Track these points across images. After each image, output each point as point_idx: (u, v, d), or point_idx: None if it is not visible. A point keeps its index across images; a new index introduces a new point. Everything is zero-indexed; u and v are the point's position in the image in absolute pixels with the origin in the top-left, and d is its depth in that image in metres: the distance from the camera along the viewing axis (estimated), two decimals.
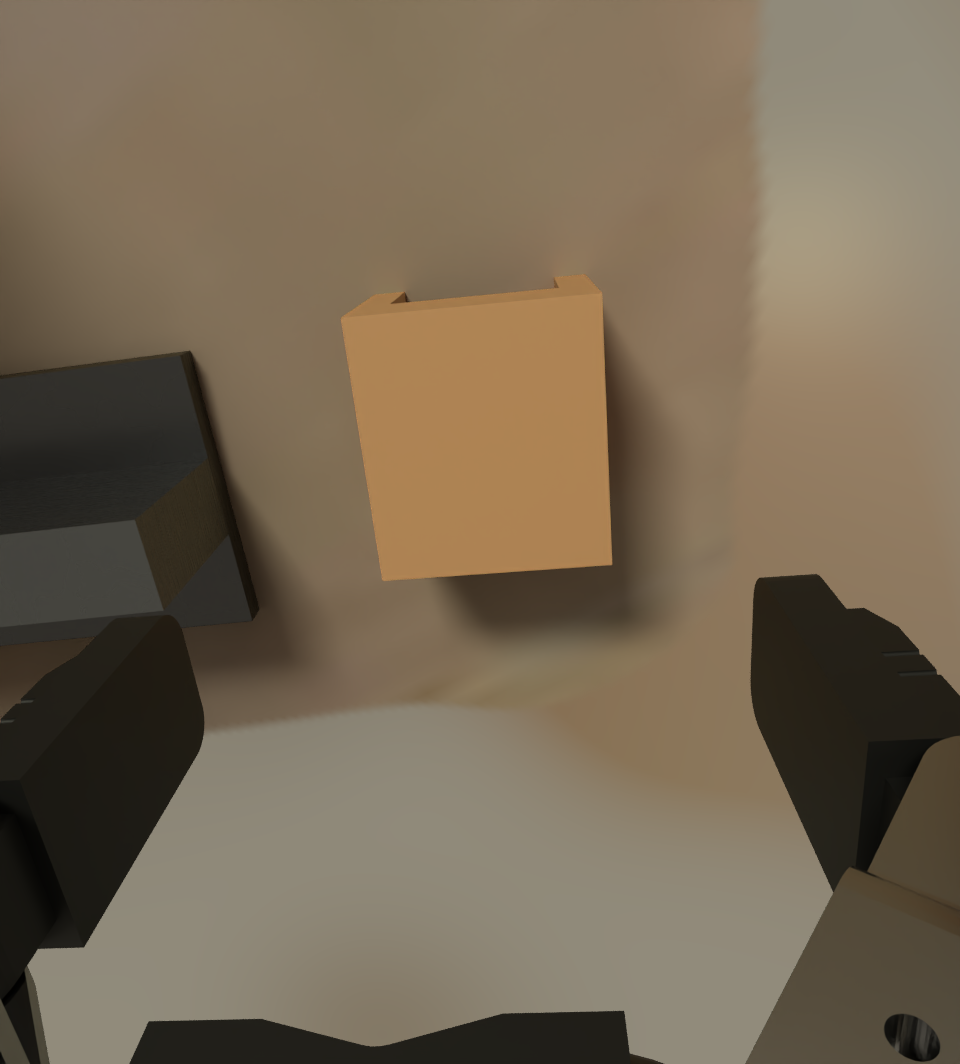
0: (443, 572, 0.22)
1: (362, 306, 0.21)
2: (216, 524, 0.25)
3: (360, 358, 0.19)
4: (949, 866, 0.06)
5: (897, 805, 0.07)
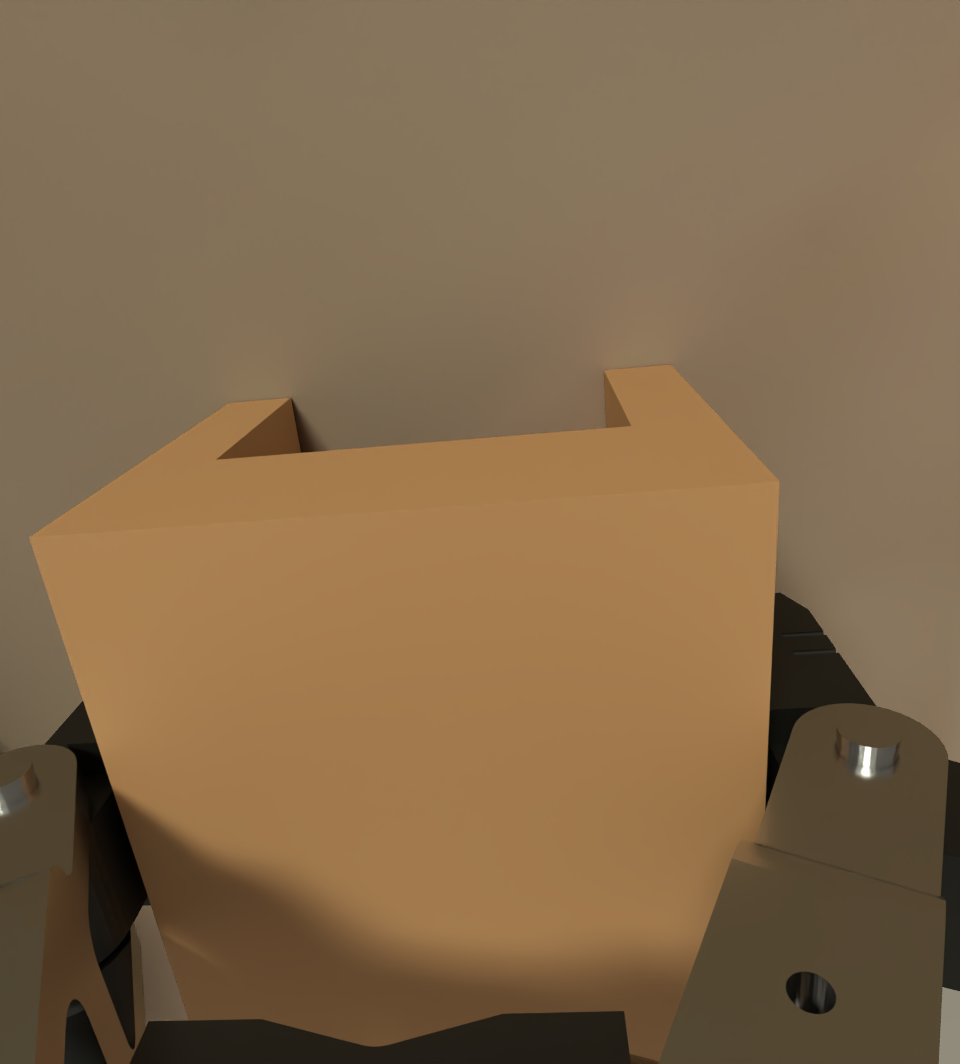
0: None
1: (151, 463, 0.09)
2: None
3: (97, 638, 0.07)
4: (797, 816, 0.06)
5: (776, 769, 0.07)
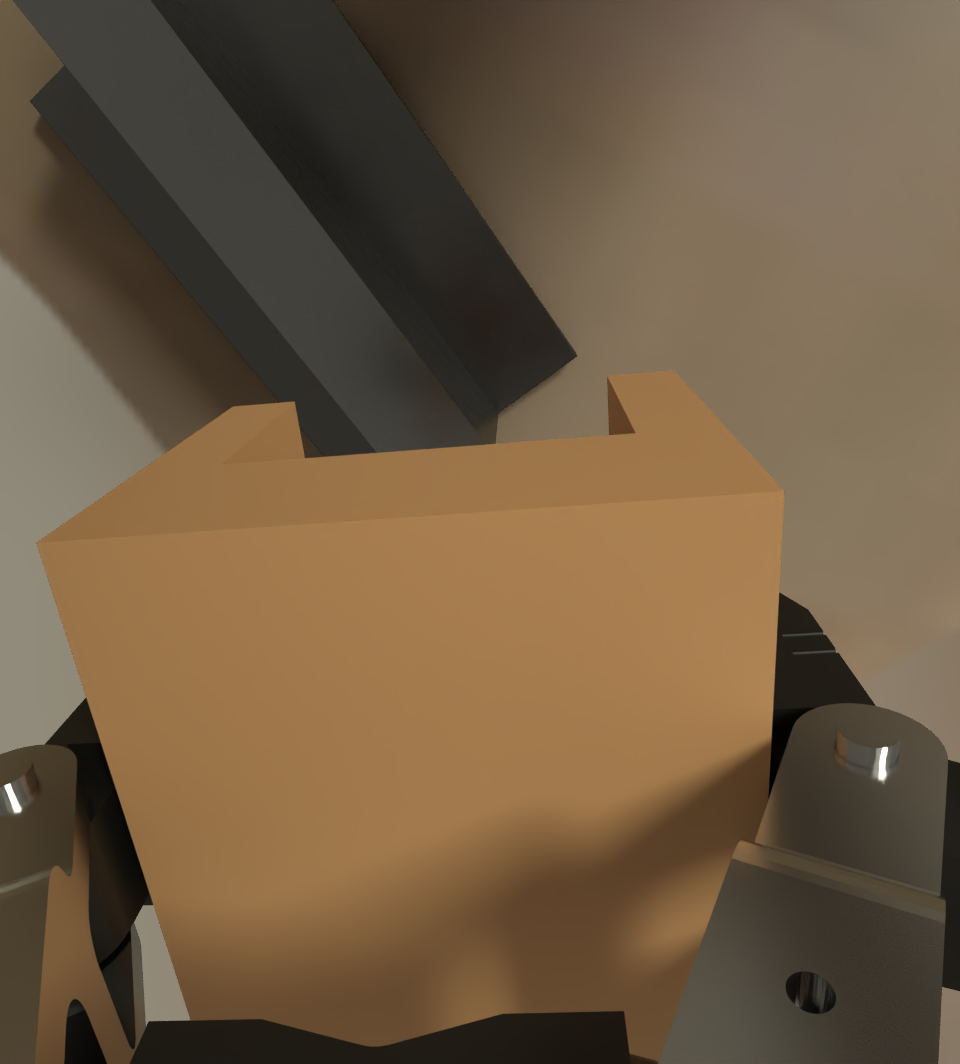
0: None
1: (156, 467, 0.09)
2: None
3: (104, 642, 0.07)
4: (797, 816, 0.06)
5: (776, 769, 0.07)
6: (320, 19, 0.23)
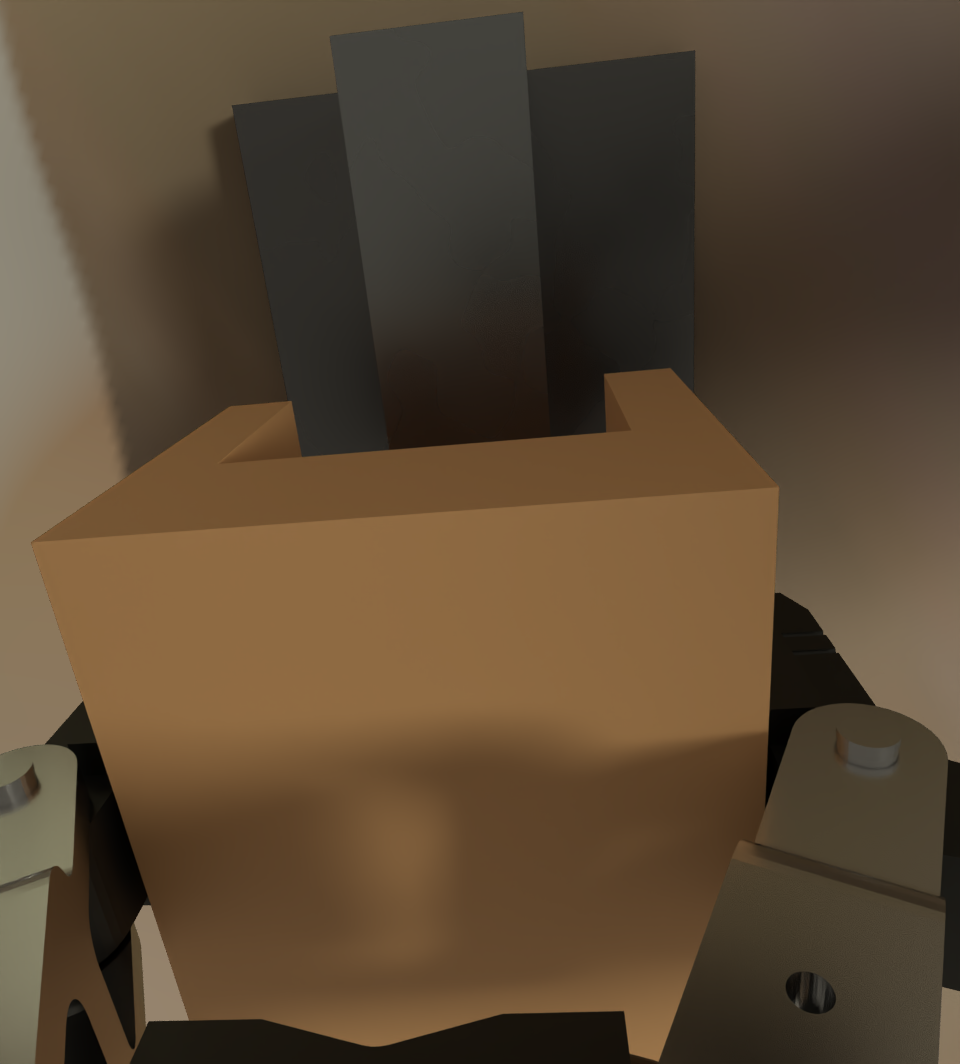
0: None
1: (152, 467, 0.09)
2: None
3: (99, 642, 0.07)
4: (797, 815, 0.06)
5: (776, 768, 0.07)
6: (666, 260, 0.16)
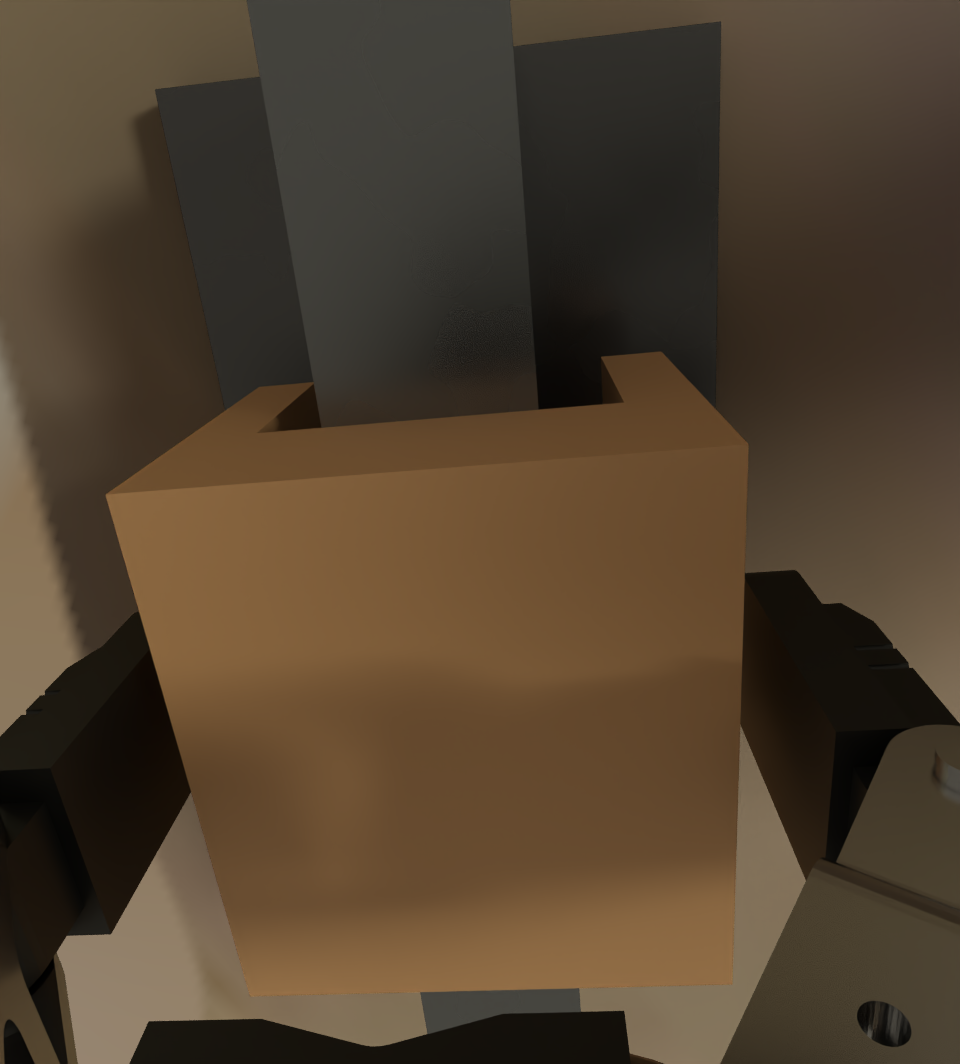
0: (375, 986, 0.10)
1: (198, 436, 0.10)
2: None
3: (161, 583, 0.08)
4: (906, 850, 0.06)
5: (863, 794, 0.07)
6: (683, 277, 0.14)
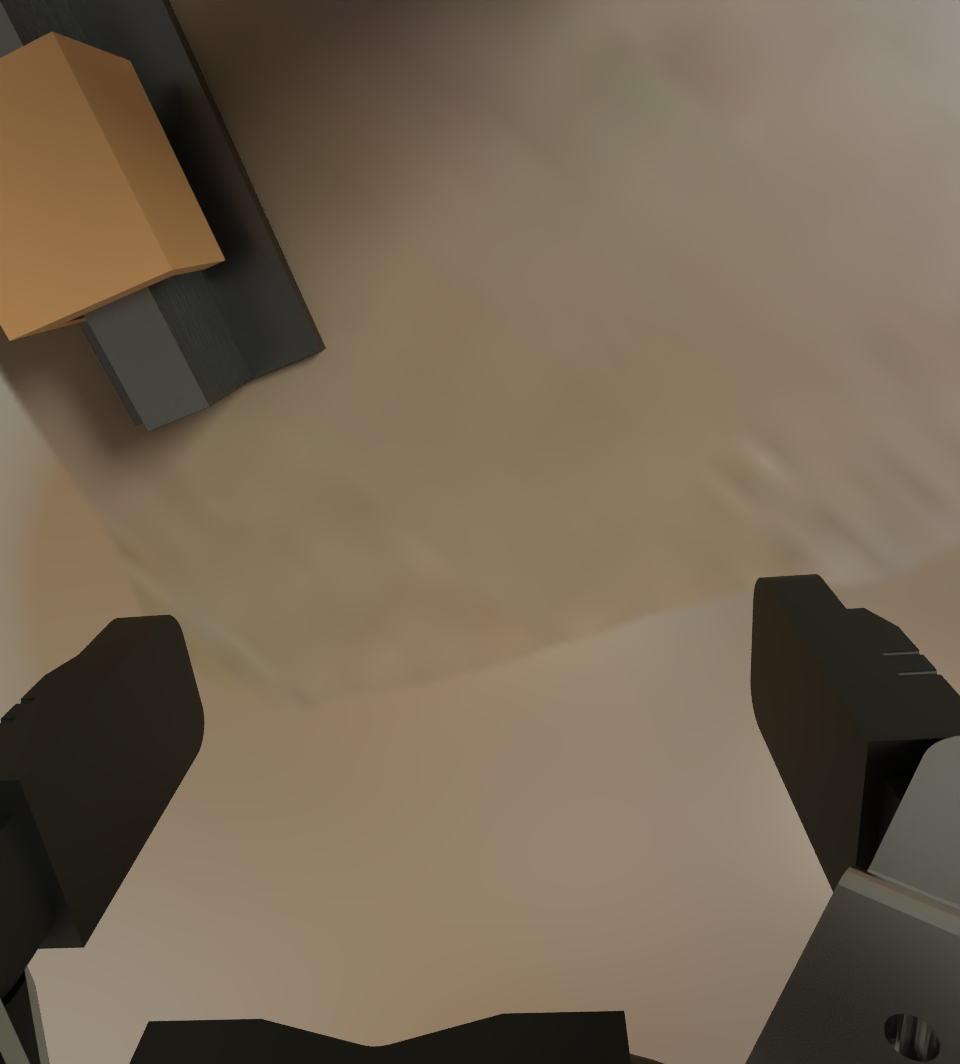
0: (50, 318, 0.26)
1: None
2: None
3: None
4: (949, 866, 0.06)
5: (897, 805, 0.07)
6: (163, 39, 0.29)
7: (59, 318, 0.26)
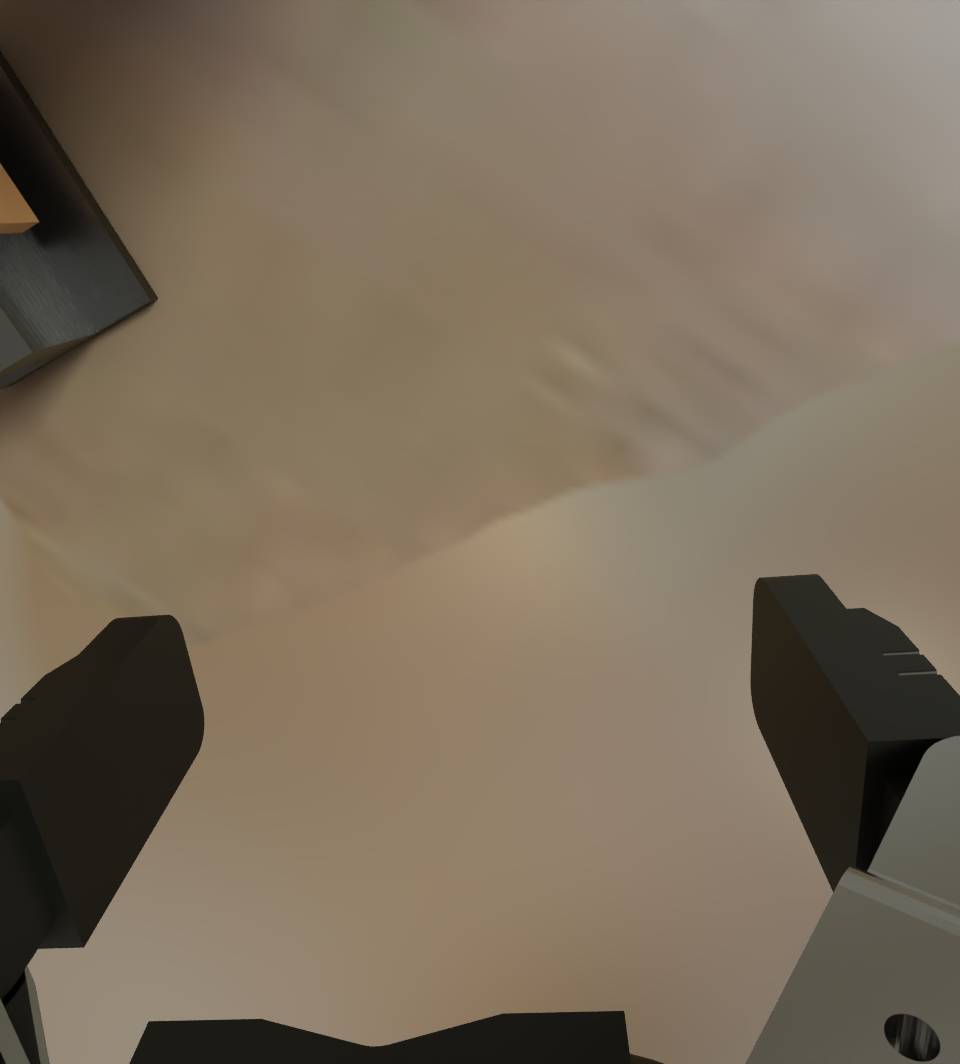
0: None
1: None
2: (55, 355, 0.37)
3: None
4: (949, 866, 0.06)
5: (897, 805, 0.07)
6: None
7: None
